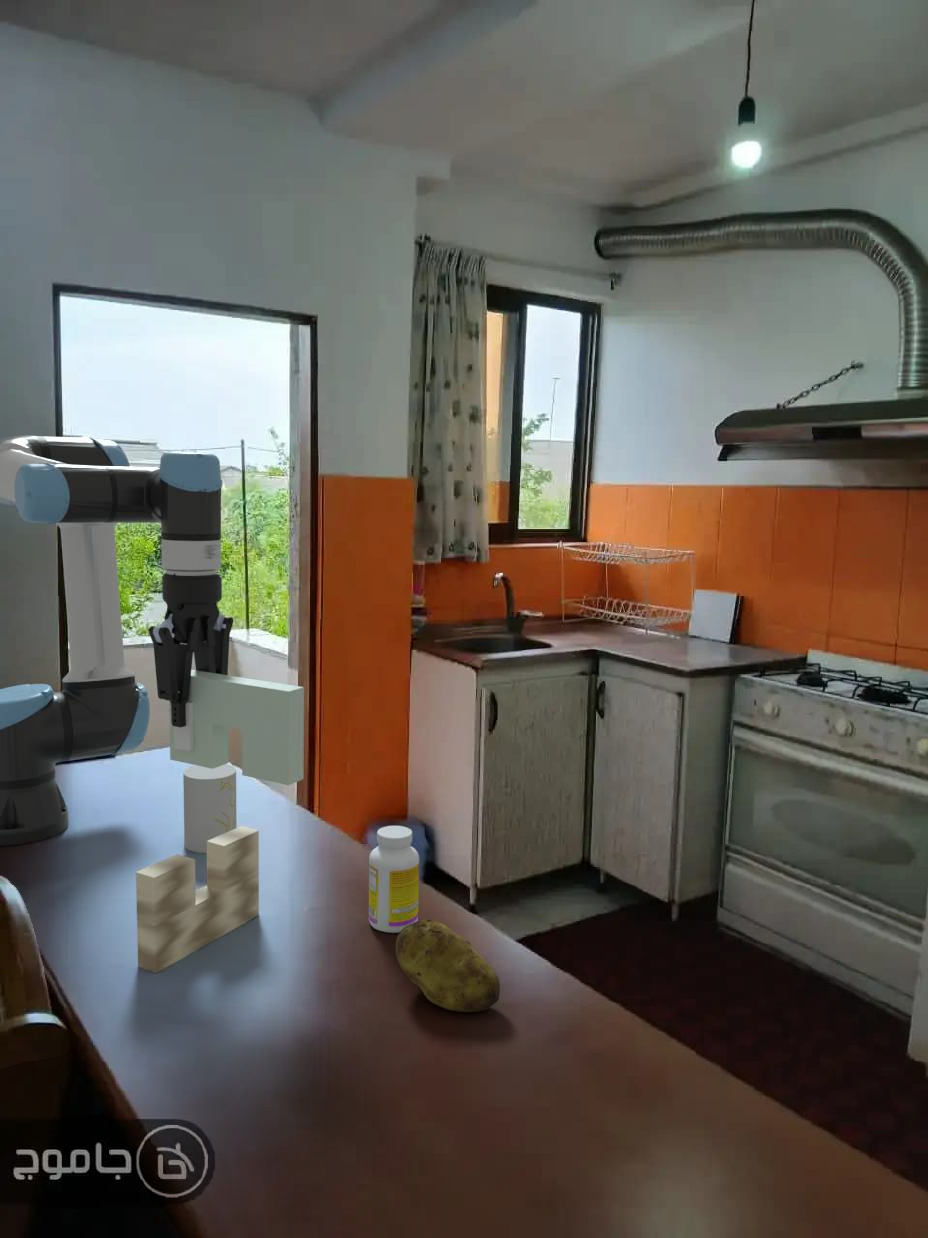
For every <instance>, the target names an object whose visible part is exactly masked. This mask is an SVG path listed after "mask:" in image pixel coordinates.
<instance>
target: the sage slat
mask: <svg viewBox="0 0 928 1238" xmlns="http://www.w3.org/2000/svg"><path fill="white" fill-rule="evenodd" d="M178 693H180V692H179V691H178ZM188 701H189V702H193V714H194V750H193V751H185V750H180V749H176V748H175V740H174V726H173V725H172V723H171V719H172V718H171V716H172V715H171V702H170V701H168V704H169V708H168V709H169V714H168V715H169V758H170V760H171V761H176V762H179V763H184V764H189V765H192V766H196V765H197V766H202V767H207V768H211V769H214V768H216V767H219V766H222V765H225V764H226V765H228V764H229V728H230V729H236V730H240V731H241V765H242V766H241V767H242V768H241V775H242V776H245V777H248V778H252V779H253V778H254V779H258V780H264V781H266V782H271V783H276V784H281V785H286V786H291V785H293V784H295V783H298V782H300V781H303V780H304V768H305V767H304V766H305V765H304V764H305V763H304V757H305V756H304V754H305V753H304V751H305V750H304V748H305V746H304V745H305V741H304V739H305V722H304V721H305V687H304V686H301V685H300V686H298V685H292V684H285V683H279V682H273V681H267V680H262V679H260V680H259V679H254V678H247V677H239V676H234V675H222V674H216V673H209V672H203V671H196V669H195V670H194V669H191V679H190V689H189V699H188Z"/></svg>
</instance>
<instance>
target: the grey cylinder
mask: <svg viewBox="0 0 928 1238" xmlns="http://www.w3.org/2000/svg"><path fill="white" fill-rule="evenodd" d="M182 773H183V778H182V779H183V829H184V830H183V831H184V832H183V837H184V838H183V840H184V843H183V844H184V847H185V849H186V848H187V850H188V851H191V852H195V853H200V854H207V841H208V840H210V839H213V838H215V837H217V836H220V835H222V834H224V833H226V832H229V831H231V830H233V829H236V828H238V824H237V768H236V767H234V766H232V765H230V764H225V765H222V766H219V767H216V768H214V769H211V768H207V767H202V766H197V765H192V766H190V767H187V768H185V769H184V770H183V772H182Z"/></svg>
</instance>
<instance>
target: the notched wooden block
mask: <svg viewBox="0 0 928 1238" xmlns="http://www.w3.org/2000/svg"><path fill="white" fill-rule="evenodd" d="M259 834H260V833H259V830H258V829H254V828H251V827H247V826H243V825H240V826H237V828H236V829H233V830H231V831H229V832H226V833H224V834H222V835H220V836H217V837H215V838H213V839H210V840H208V841H207V853H206V885H204V886H203V887H200V888H198V889H196V859H195V858H192V857H188V856H186V855H182V854H178V853H176V854H174V855H172V856H169V857H166V858H165V859H163V860H160V861H158V862H156V863H153V864H151V865H148V866H146V867H144V868H142V869H140V870H137V871H135V883H136V884H135V886H136V887H135V888H136V889H135V890H136V930H137V931H136V934H137V938H136V939H137V967H139V968H141V969H142V970H143V969H144V970H146V971H148V972H151V973H154V974H157V973H159V972H161V971H163V970H165V969H166V968H168V967H170V966H172V965H173V964H175V963H176V962H179V961H181V960H182V959H184V958H186V957H188V956H190V955H192V954H193V953H195V952H197V951H198V950H200V949H202V948H203V947H206V946H207V945H208V944H210V943H212V942H214V941H216V940H218V939H219V938H221V937H223V936H224V935H227V934H228V933H230V932H232V931H233V930H235V929H238V928H239V927H240V926H242V925H244V924H245V923H247V922H249V921H251V920H252V919H254V918H256V917H258V916H259V915H260V913H259V912H260V910H259V909H260V902H259V901H260V893H259V891H260V888H259V887H260V884H259V883H260V882H259V881H260V879H259V878H260V874H259V873H260V870H259V869H260V868H259V867H260V856H259V855H260V852H259V850H260V849H259V847H260V846H259V841H260V838H259Z"/></svg>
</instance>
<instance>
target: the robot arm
mask: <svg viewBox="0 0 928 1238" xmlns="http://www.w3.org/2000/svg"><path fill="white" fill-rule="evenodd" d="M159 463H160V464H159V466H157V467H156V466H131V465H130V462H129V459H128V457H127V455H126V453H125V452H124V450H123V448H122V447H121V446H120V445H119V444H118V443H116V442H115V441H112V440H109V439H108V440H106V439H98V438H93V437H70V436H68V437H67V436H45V435H44V436H43V435H41V436H40V435H23V434H22V435H15V436H9V437H8V436H7V437H4V438H1V439H0V504H2V505H8V506H15V507H16V509H17V511H18V515H19V517H20V518H21V519H22V520H23V521H24V522H28V523H38V524H44V525H45V524H46V525H57V527H59V529H60V538H61V539H60V540H61V551H62V563H63V564H62V565H63V566H62V567H63V579H64V591H65V593H64V594H65V604H66V605H65V606H66V619H67V633H68V648H69V657H70V658H69V659H70V660H69V661H70V669H69V671H68V673H67V674H66V675H65V676H64V677H63V678H62V680H61V682H62V683H61V684H62V690H61V691H54V690H53V688H52V686H51V685H50V684H46V683H32V684H30V683H26V684H17V685H13V686H9V687H4V688H0V846H15V845H23V844H24V845H25V844H28V843H29V844H30V843H34V842H38V841H42V840H46V839H48V838H49V839H50V838H52V837H54V836H56V835H57V834H60V833H62V832H63V831H65V830H66V829H67V827H68V825H69V810H68V806H67V804H66V802H65V800H64V797H63V795H62V792H61V789H60V786H59V784H58V782H57V779H56V764H57V763H61V762H62V763H63V762H68V761H75V760H82V759H88V758H89V759H90V758H95V757H99V756H108V755H109V756H116V755H118V754H121V753H125V752H130V751H135V750H136V749H137V748H139V747H140V746H141V744H143V742H144V740H145V738H146V735H147V733H148V728H149V725H150V724H149V723H150V714H151V713H150V699H149V697H148V694H149V692H148V691H147V689H146V686H144V684H142V683H140V682H136V676H135V675H136V674H135V673H134V672H133V671H132V670H131V669H129V668H128V667H127V666H126V664H125V655H124V654H125V653H124V640H123V637H124V636H123V627H122V625H123V624H122V614H121V613H122V611H121V610H122V609H121V599H120V586H119V585H120V584H119V583H120V582H119V573H118V572H119V571H118V561H117V560H118V559H117V546H116V545H117V544H116V531H115V529H116V528H115V527H116V525H117V524H118V523H120V524H122V523H124V524H127V523H128V524H133V523H134V524H136V523H137V524H139V523H140V524H146V523H147V524H148V523H150V524H151V523H152V524H153V523H154V524H161V530H160V531H161V535H160V536H161V537H160V538H161V569H162V570H164V571H166V572H165V573H164V574H163V575H162V576H161V585H162V586H161V590H162V591H161V592H162V595H161V596H162V600H163V601H164V603H165V604H166V611H165V614H164V621H162V622H161V623H160V624H158V625H150V626H149V628H148V634H149V636H150V639H151V641H152V644H153V655H154V668H155V677H156V679H155V680H156V688H157V689H156V690H157V697H158V699H160V700H165V701H168V702H169V701H170V702H171V715H172V716H171V718H172V719H171V723H172V725H173V726H174V740H175V748H176V749H180V750H185V751H193V750H194V714H193V702H189V701H188V699H189V689H190V679H191V670H192V667H193V658H194V664H195V670H196V671H203V672H209V673H216V674H222V675H228V673H229V653H230V635H231V631H232V628H233V625H234V618H233V617H232V616H226V615H225V616H224V615H223V614H221V613H220V610H219V607H218V604H217V603H219V602H220V601H221V600H222V598H223V594H222V593H223V587H222V586H223V585H222V584H223V582H222V581H223V577H222V576H221V574H220V573H217V571H219V570H221V568H222V486H223V480H222V476H221V465H220V464H221V463H220V459H219V458H218V456H217V455H215V454H213V453H208V452H206V453H205V452H182V451H180V452H177V451H174V452H173V451H167V452H164V453H163V454H162V455H161V457H160V462H159ZM178 691H179V692H180V693H178Z"/></svg>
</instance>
